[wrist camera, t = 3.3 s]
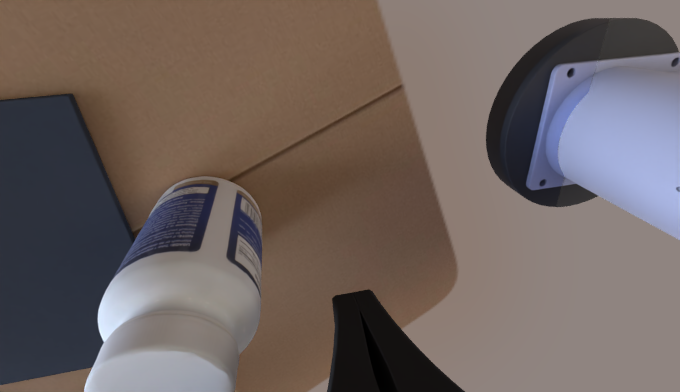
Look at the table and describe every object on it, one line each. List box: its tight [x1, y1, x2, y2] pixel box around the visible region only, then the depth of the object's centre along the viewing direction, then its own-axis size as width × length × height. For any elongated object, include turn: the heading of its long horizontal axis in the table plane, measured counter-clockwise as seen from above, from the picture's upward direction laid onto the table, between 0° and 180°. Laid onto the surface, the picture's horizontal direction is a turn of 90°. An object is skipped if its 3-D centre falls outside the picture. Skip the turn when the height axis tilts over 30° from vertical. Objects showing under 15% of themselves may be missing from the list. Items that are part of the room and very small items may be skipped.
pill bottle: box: [84, 176, 262, 392], centre depth 14 cm, size 5×5×10 cm
